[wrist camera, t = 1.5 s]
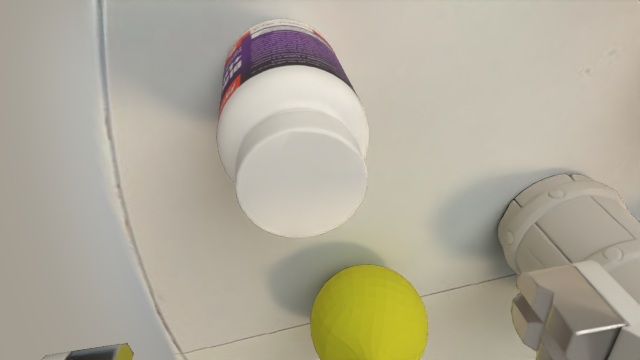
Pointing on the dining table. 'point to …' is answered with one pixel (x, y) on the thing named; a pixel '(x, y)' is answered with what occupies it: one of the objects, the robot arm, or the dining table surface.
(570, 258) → the mug
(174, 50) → the dining table surface
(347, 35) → the dining table surface
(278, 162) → the pill bottle
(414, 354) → the ornament
